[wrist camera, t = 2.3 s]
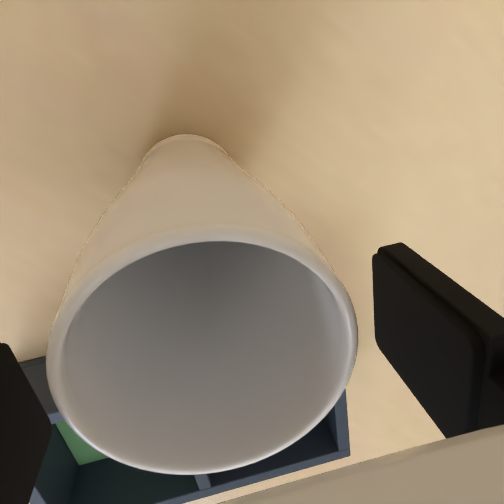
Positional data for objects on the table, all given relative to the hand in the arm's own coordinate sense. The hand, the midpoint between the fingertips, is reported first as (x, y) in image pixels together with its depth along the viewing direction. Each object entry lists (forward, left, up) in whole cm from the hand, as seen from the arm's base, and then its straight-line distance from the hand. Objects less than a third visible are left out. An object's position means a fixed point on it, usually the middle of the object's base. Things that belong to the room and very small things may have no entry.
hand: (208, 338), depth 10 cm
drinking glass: (0, 0, -13) cm, 13 cm away
